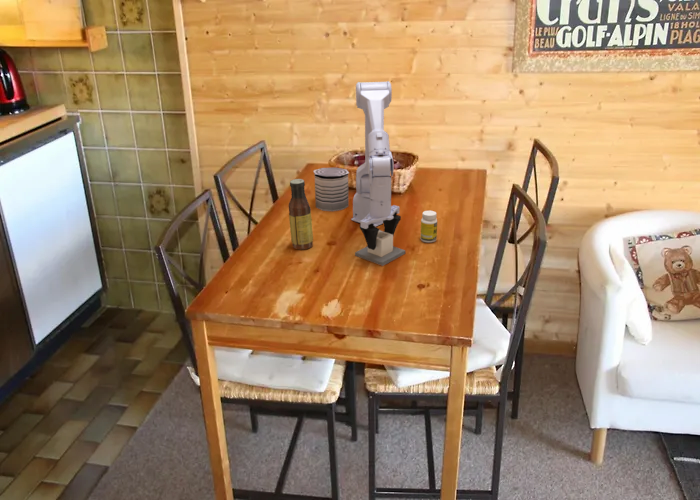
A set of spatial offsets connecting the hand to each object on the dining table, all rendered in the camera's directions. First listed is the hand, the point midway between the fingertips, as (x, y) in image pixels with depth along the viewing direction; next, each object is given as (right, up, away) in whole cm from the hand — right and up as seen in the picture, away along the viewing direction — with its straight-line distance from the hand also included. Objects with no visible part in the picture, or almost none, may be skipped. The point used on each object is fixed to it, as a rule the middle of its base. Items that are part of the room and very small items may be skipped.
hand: (380, 244), depth 198 cm
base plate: (0, -3, +1) cm, 3 cm away
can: (-14, +13, +36) cm, 41 cm away
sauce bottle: (-22, -1, +7) cm, 24 cm away
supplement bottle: (+15, +1, +10) cm, 18 cm away
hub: (0, -2, +1) cm, 2 cm away
